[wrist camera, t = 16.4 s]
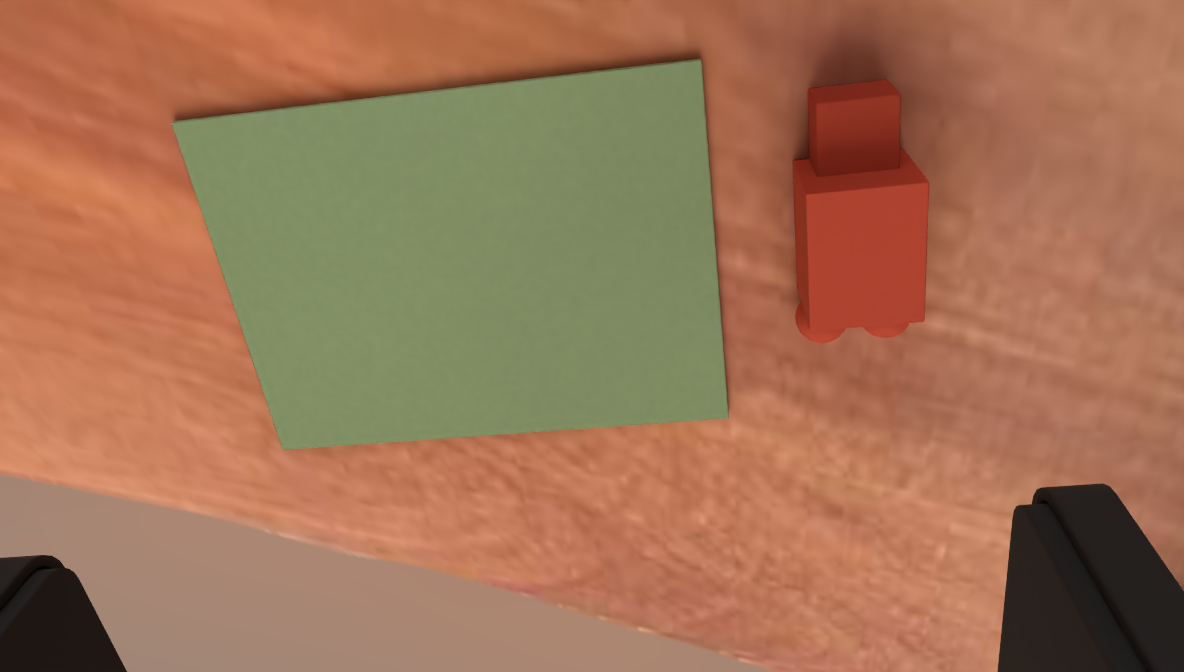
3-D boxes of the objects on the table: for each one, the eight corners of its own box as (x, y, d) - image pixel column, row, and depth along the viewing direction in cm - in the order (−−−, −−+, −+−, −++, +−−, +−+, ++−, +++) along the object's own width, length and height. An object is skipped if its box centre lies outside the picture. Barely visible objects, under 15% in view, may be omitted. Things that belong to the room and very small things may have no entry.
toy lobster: (784, 90, 33) (797, 118, 30) (911, 75, 33) (938, 102, 29) (793, 330, 38) (805, 377, 34) (905, 320, 37) (928, 368, 34)
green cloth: (174, 120, 36) (171, 122, 35) (701, 57, 33) (701, 59, 33) (285, 446, 42) (282, 450, 42) (728, 414, 40) (728, 418, 40)
